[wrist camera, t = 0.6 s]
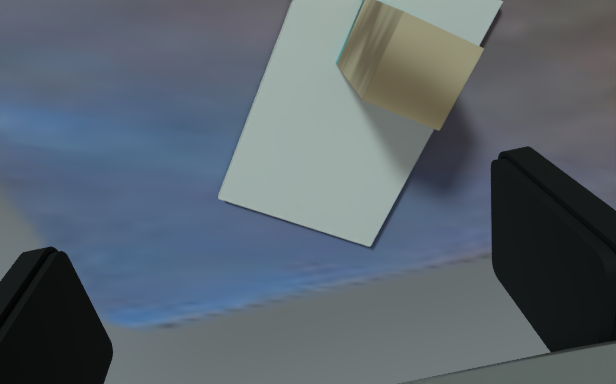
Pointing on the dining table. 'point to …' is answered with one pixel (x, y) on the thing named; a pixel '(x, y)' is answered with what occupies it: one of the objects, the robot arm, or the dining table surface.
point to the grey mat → (332, 124)
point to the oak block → (406, 63)
